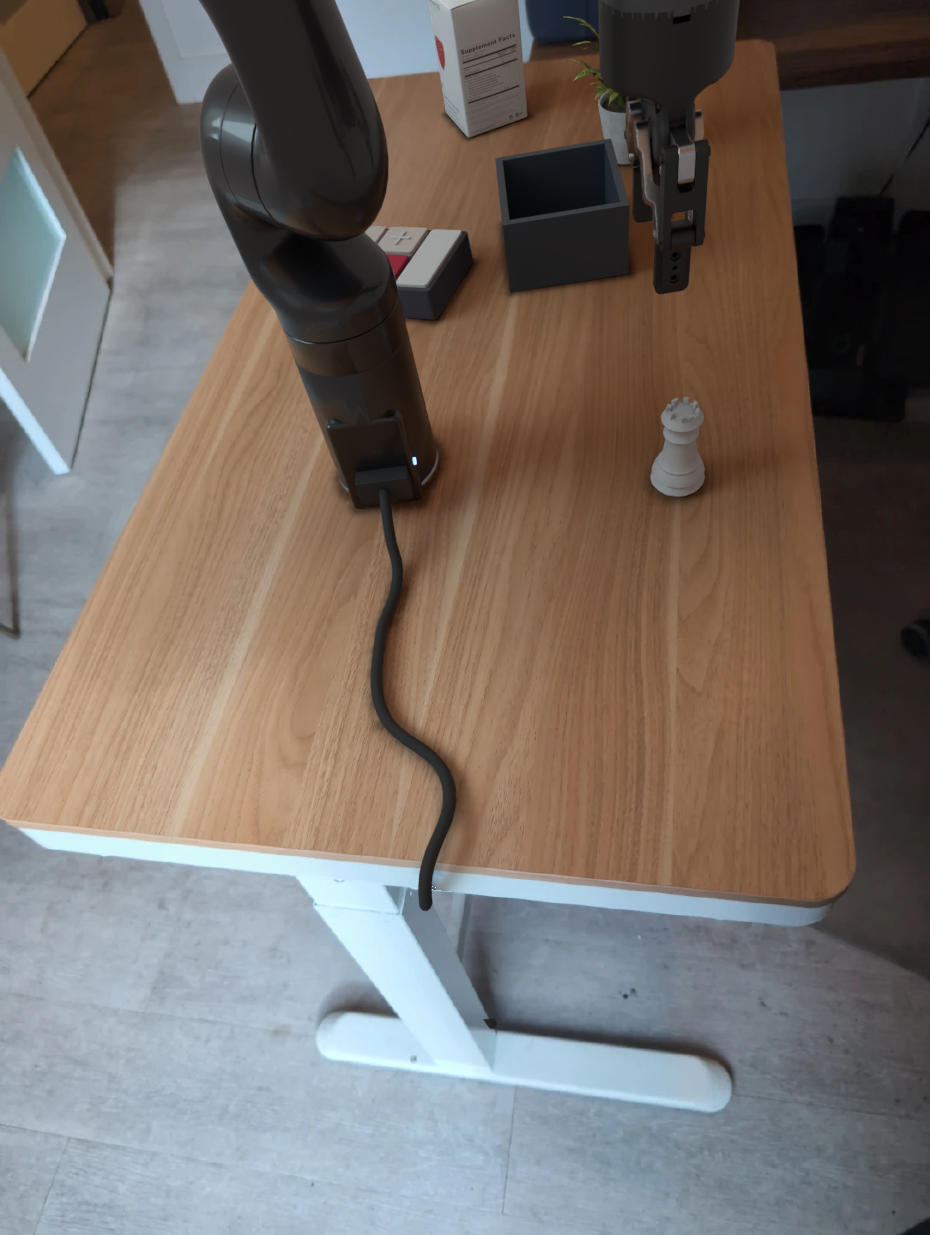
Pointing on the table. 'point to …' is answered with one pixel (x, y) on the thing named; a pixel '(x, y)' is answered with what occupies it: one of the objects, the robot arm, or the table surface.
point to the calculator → (424, 265)
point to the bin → (563, 215)
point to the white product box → (480, 62)
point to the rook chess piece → (679, 450)
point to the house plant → (608, 107)
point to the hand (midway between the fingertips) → (659, 253)
